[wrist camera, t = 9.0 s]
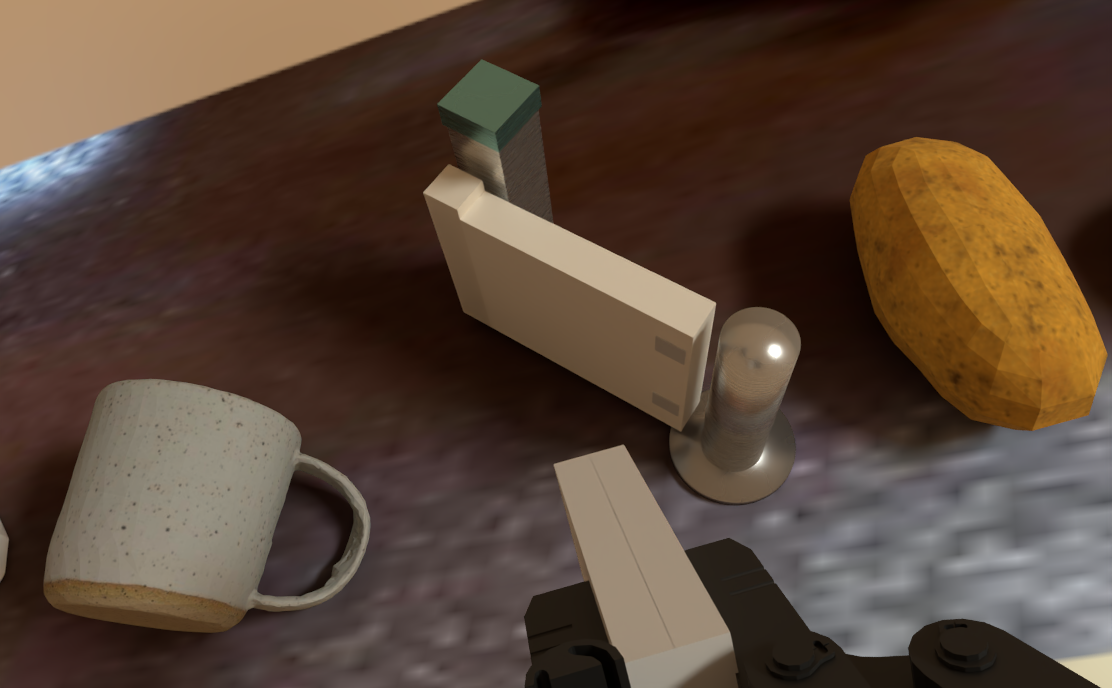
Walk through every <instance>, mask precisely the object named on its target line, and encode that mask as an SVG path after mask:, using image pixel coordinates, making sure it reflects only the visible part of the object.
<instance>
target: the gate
mask: <svg viewBox="0 0 1112 688" xmlns="http://www.w3.org/2000/svg"><path fill="white" fill-rule="evenodd" d="M423 193H424V196H425V199H426V202H427V205H428V208H429V211H430V214H431V217H432V220H433V223H434V226H435V229H436V232H437V235H438V238H439V241H440V244H441V247H442V250H443V253H444V256H445V259H446V262H447V265H448V268H449V270H450V273H451V276H452V279H453V282H454V285H455V288H456V291H457V294H458V297H459V300H460V303H461V306H462V309H463V312H464V313H466V314H468V315H470V316H472V317H474V318H475V319H477V320H479V321H481V322H483V323H484V324H486V325H488V326H490V327H492V328H494V329H495V330H497V331H499V332H501V333H503V334H504V335H506V336H508V337H510V338H512V339H513V340H515V341H517V342H519V343H521V344H523V345H524V346H526V347H528V348H530V349H532V350H533V351H535V352H537V353H539V354H541V355H543V356H544V357H546V358H548V359H550V360H552V361H553V362H555V363H557V364H559V365H561V366H562V367H564V368H566V369H568V370H570V371H572V372H573V373H575V374H577V375H579V376H581V377H582V378H584V379H586V380H588V381H590V382H592V383H593V384H595V385H597V386H599V387H601V388H602V389H604V390H606V391H608V392H610V393H612V394H613V395H615V396H617V397H619V398H621V399H622V400H624V401H626V402H628V403H630V404H631V405H633V406H635V407H637V408H639V409H641V410H642V411H644V412H646V413H648V414H650V415H651V416H653V417H655V418H657V419H659V420H661V421H662V422H664V423H666V424H668V425H670V426H671V427H673V428H675V429H677V430H679V431H682V429H683V428H684V426H685V424H686V423H687V421H688V420H689V418H690V416H691V415H692V413H693V412H694V410H695V408H696V407H697V405H698V404H699V402H700V396H701V390H702V384H703V378H704V372H705V366H706V360H707V354H708V349H709V343H710V337H711V331H712V325H713V319H714V313H715V307H716V303H715V302H713V301H711V300H709V299H707V298H705V297H703V296H701V295H699V294H697V293H694V292H692V291H690V290H688V289H686V288H684V287H682V286H680V285H678V284H676V283H674V282H672V281H670V280H668V279H666V278H664V277H662V276H659V275H657V274H655V273H653V272H651V271H649V270H647V269H645V268H643V267H641V266H639V265H637V264H635V263H633V262H631V261H629V260H627V259H624V258H622V257H620V256H618V255H616V254H614V253H612V252H610V251H608V250H606V249H604V248H602V247H600V246H598V245H596V244H594V243H591V242H589V241H587V240H585V239H583V238H581V237H579V236H577V235H575V234H573V233H571V232H569V231H567V230H565V229H563V228H561V227H559V226H556V225H554V224H552V223H550V222H548V221H546V220H544V219H542V218H540V217H538V216H536V215H534V214H532V213H530V212H528V211H526V210H524V209H521V208H519V207H517V206H515V205H513V204H511V203H509V202H507V201H505V200H503V199H501V198H499V197H497V196H495V195H493V194H491V193H488V192H486V191H485V190H484V185H483V181H482V180H481V179H478V178H476V177H474V176H472V175H470V174H468V173H466V172H464V171H462V170H460V169H458V168H456V167H454V166H451V165H448V166H447V167H446V168H445V169H444V170H443V171H442V172H441V173H440V175H439V176H438V177H437V178H436V179H435V180H434V181H433V182H432V184H431V185H430V186H429V187H428V188H427V189H426V190H425V191H424V192H423Z"/></svg>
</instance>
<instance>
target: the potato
mask: <svg viewBox="0 0 1112 688" xmlns="http://www.w3.org/2000/svg"><path fill="white" fill-rule="evenodd" d="M850 205H851V212H852V219H853V226H854V233H855V239H856V245H857V251H858V255H859V259H860V263H861V266H862V270H863V274H864V278H865V281H866V285H867V288H868V292H869V295H870V299H871V302H872V306H873V309H874V313H875V314H876V316H877V318H878V319H879V321H880V322H881V324H882V325H883V327H884V329H885V330H886V332H887V333H888V335H889V337H890V338H891V340H892V341H893V343H894V344H895V345H896V346H897V347H898V348H899V349H900V350H901V351H902V352H903V353H904V354H905V355H906V356H907V357H908V358H909V359H910V360H911V361H912V363H913V364H914V365H915V366H916V367H917V368H918V369H919V370H920V371H921V372H922V374H923V375H924V376H925V377H926V378H927V380H928V381H929V382H930V383H931V384H932V386H933V387H934V388H935V389H936V390H937V392H938V393H939V394H940V395H941V396H942V397H943V398H944V399H946V400H947V401H948V402H949V403H951V404H952V405H953V406H954V407H956V408H957V409H958V410H960V411H961V412H962V413H963V414H965V415H966V416H967V417H968V418H970V419H971V420H975V421H979V422H983V423H988V424H992V425H997V426H1001V427H1006V428H1010V429H1015V430H1029V431H1033V430H1037V429H1040V428H1044V427H1047V426H1051V425H1054V424H1058V423H1062V422H1065V421H1069V420H1072V419H1076V418H1080V417H1083V416H1087V415H1089V412H1090V409H1091V406H1092V403H1093V399H1094V396H1095V393H1096V390H1097V387H1098V384H1099V380H1100V377H1101V374H1102V371H1103V368H1104V365H1105V361H1106V358H1107V352H1106V349H1105V347H1104V344H1103V341H1102V339H1101V336H1100V333H1099V331H1098V328H1097V325H1096V323H1095V320H1094V317H1093V315H1092V313H1091V311H1090V309H1089V307H1088V305H1087V303H1086V300H1085V298H1084V296H1083V294H1082V292H1081V290H1080V288H1079V286H1078V284H1077V282H1076V280H1075V278H1074V276H1073V274H1072V272H1071V271H1070V269H1069V267H1068V265H1067V263H1066V261H1065V259H1064V258H1063V256H1062V254H1061V252H1060V250H1059V248H1058V247H1057V245H1056V243H1055V241H1054V240H1053V238H1052V236H1051V234H1050V233H1049V231H1048V229H1047V227H1046V226H1045V224H1044V222H1043V221H1042V219H1041V217H1040V215H1039V214H1038V213H1037V212H1036V211H1035V210H1034V209H1033V207H1032V206H1031V205H1030V204H1029V203H1028V202H1027V201H1026V199H1025V198H1024V197H1023V196H1022V195H1021V194H1020V192H1019V191H1018V190H1017V189H1016V188H1015V187H1014V186H1013V184H1012V183H1011V182H1010V181H1009V180H1008V179H1007V178H1006V177H1005V175H1004V174H1003V173H1002V172H1001V171H1000V170H999V169H998V168H997V167H996V165H995V164H994V163H993V162H992V161H991V160H990V159H989V158H988V157H987V156H985V155H983V154H981V153H978V152H976V151H974V150H972V149H970V148H968V147H965V146H963V145H961V144H959V143H957V142H951V141H943V140H935V139H927V138H919V137H914V138H911V139H908V140H904V141H901V142H897V143H894V144H890V145H887V146H883V147H880V148H878V149H877V150H875V151H873V152H871V153H870V154H868V155H866V157H865V159H864V162H863V164H862V167H861V170H860V172H859V175H858V177H857V180H856V183H855V186H854V189H853V192H852V195H851V198H850Z"/></svg>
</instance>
